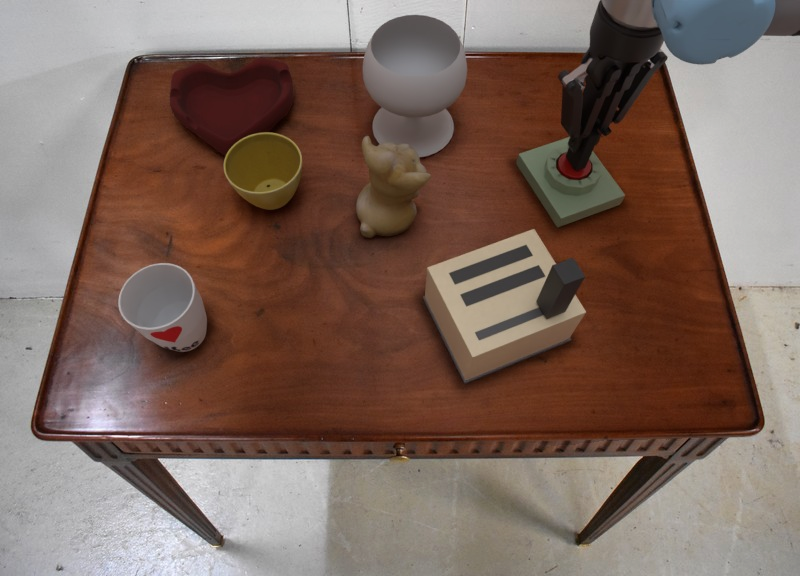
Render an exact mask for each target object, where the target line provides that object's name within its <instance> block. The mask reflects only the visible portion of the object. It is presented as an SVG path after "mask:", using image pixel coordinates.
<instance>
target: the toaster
mask: <svg viewBox="0 0 800 576" xmlns="http://www.w3.org/2000/svg"><path fill="white" fill-rule="evenodd" d="M555 264H557V263H556V262H555V260H554V258H553V256H552V255H551V253H550V251H549V250H548V248H547V247H546V246H545V244H544V242H543V241H542V239H541V237H540V236H539V234H538V232H537V231H536V229H535V228H532V229H530V230H526V231H524V232H521V233H518V234H515V235H512V236H510V237H508V238H507V237H506V238H505V239H502V240H499V241H497V242H493V243H491V244H489V245H485V246H482V247H480V248H476V249H474V250H472V251H469V252H466V253H463V254H461V255H460V254H459V255H458V256H455V257H452V258H450V259H447V260H444V261H441V262H438V263H435V264H433V265H430V266H427V268H426V278H425V289H424V290H425V292H424V295H422V300H423V302H424V304H425V306H426V307H425V308H427V311H428V312H429V315H430V317H431V319H432V321H433V323H434V325H435V327H436V330H437V331H438V334H439V335H440V337H441V339H442V341H443V344H444V346H445V348H446V349H447V351H448V354H449V356H450V358H451V360H452V362H453V364H454V366H455V369H456V370H457V372H458V374H459V376H460V378H461V380H462V382H463V383H462V384H464V385H467V384H469V383H471V382H474V381H477V380H479V379H481V378H484V377H486V376H489V375H491V374H495V372H498V371H501V370H503V369H506V368H508V367H510V366H513V365H516V364H518V363H521V362H524V361H526V360H528V359H530V358H533V357H535V356H538V355H540V354H543V353H545V352H547V351H550V350H553V349H555V348H557V347H560V346H562V345H565V344H567V343H570V342H571V341H572V340H573V339H572V335H573V334H574V332H575V330H576V329H577V327H578V326H579V324H580V322H581V321H582V319H583V318H584V316H585V314H586V313H587V311H586V309H585V307H584V306H583V304H582V303H581V301H580V300H579V298H578V296H577V295H576V294H575V296H574V297H573V299H572V301H571V303H570V305H569V306H568V308H567V310H566V312H564V313H561V314H559V315H556V316H554V317H551V318H549V319H546V318H545V316H544V314H543V312H542V311H541V309H540V307H539V306H538V304H537V302H536V301H537V298H538V296H539V294H540V292H541V290H542V287H543V285H544V283H545V281H546V278H547V276H548V274H549V272H550V270H551V267H552V265H555Z"/></svg>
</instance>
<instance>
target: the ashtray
mask: <svg viewBox="0 0 800 576" xmlns="http://www.w3.org/2000/svg"><path fill="white" fill-rule="evenodd" d="M294 94H295V93H294V83H293V78H292V74H291V71H290V68H289V66H288V64H287V63H286V62H285V61H282V60H278V59H271V58H269V57H263V56H261V57H257V58H255V59H254V60H252V61H251V62H249V63H248V64H247V65H245V66H244V67H241V68H240V69H238V70H236V71H232V72H226V71H225V72H224V71H220V70H218V69H217V68H214V67H212V66H209V65H207V64H206V63H204V62H196V63H194V64H191V65H189V66H187V67H184V68H181V69H178V70H176V71H174V72H173V73H172V76H171V80H170V91H169V107H170V109H171V112H172V114H173V116H174V117H175V118H176V120H177V121H178V122H179V123H180V124H181V125H182V126H184V127H185V128H186V129H188V131H189V130H190V131H191V132H192V133H193V134H195V135H196V136H197V137H199V138H200V139H201V140H202V141H203V142H205V143H206V144H208V145H209V146H210V147H212V148H213V149H214V150H216V151H217V152H219V153H220V154H221V155H223V156H224V157H226V154H227V153H228V151H229V149H230V148H231V147H232V146H233V145H234V144H235V143H237V142H238V141H239V140H241V139H243V138H244V137H247V136H249V135H252V134H256V133H265V132H267V133H268V132H269V133H270V132H271V131H272V130H273V128H275V126H276V125H277V124H278V123H279V122H281V121H282V120H283V119H284V118H285V117H286V116H287V115H288V113H289V112H290V110H291V108H292V106H293V101H294Z"/></svg>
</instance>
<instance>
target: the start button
mask: <svg viewBox="0 0 800 576" xmlns="http://www.w3.org/2000/svg"><path fill="white" fill-rule="evenodd" d="M566 154H567V153H565V154H563V155H562V156H561V157H560V158H559V161H558V164H557V166H556V168H557V170H558V171H559V173H560V174H561V175H562V176H564V177H566V178H568V179H570V180H582V179H585V178H587V177H588V174H589V172H590V170H591V163H590V161H589V160H588V163H587V165H586V167H585V168H584V169H581V170H578V171H575V170H574V168H573V167H572V166H571V164H570V163H569V161H568V160H567V158H566Z"/></svg>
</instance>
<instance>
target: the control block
mask: <svg viewBox="0 0 800 576" xmlns="http://www.w3.org/2000/svg"><path fill="white" fill-rule="evenodd" d="M569 138H570V136H568V137H565V138H561V139H559V140H556V141H553V142H549V143H547V144H544V145H541V146H538V147H535V148H532V149H529V150H526V151H523V152H520V153H518V155H517V159H516V162H515V165H516V166H517V168H518V170H519V171H520V172H521V174H522V176H523V177H524V178H525V180H526V181H527V183H528V185H529V187H530V188H531V189H532V191H533V192H534V194H535V195H536V197H537V198H538V200H539V202H540V203H541V205H542V206H543V208H544V210H545V211H546V213H547V214H548V215H549V217H550V218H551V220H552V222H553V223H554V225H555V226H556V228H560V227H563V226H565V225H569V224H571V223H574V222H577V221H579V220H582V219H585V218H587V217H590V216H593V215H595V214H599V213H602V212H604V211H607V210H609V209H612V208H615V207H618V206H620V205H621V204H622V202H623V201H624V198H625V197H626V194H625V193H624V191H623V190H622V189H621V187H620V186H619V184H618V183H617V182H616V180H615V179H614V177H612V175H611V173H610V172H609V171H608V169H607V168H606V167H605V166H604V164H603V163H602V161H601V160H600V159H599V158H598V156H597V155H596V153H595V152H594V150H593V151H592V153H591V156H590V158H589V161H590V163H591V170H590V172H589V174H588V177H587V178H585V179H582V180H570V179H568V178H566V177H564V176H562V175H561V174H560V173H559V171H558V170H557V168H556V166H557V164H558V161H559V158H560V157H561V156H562V155H563V154H565V153H567V151H568V149H569V146H568V141H569Z"/></svg>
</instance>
